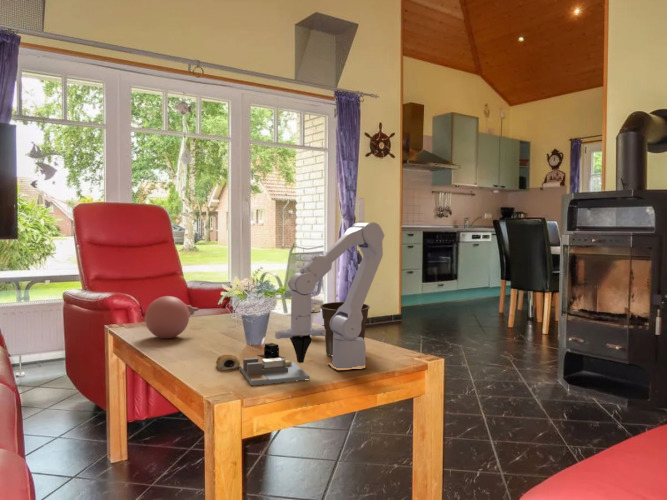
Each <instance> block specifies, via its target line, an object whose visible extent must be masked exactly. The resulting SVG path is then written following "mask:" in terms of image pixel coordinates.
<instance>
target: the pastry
mask: <svg viewBox="0 0 667 500" xmlns="http://www.w3.org/2000/svg"><path fill="white" fill-rule="evenodd" d="M215 364H216V365H217V368H218V370H219V371H227V370H228V369H229V370H237V369H239V368H240V365H241V362H240V360H239V359H238V357H237V355H232V354H222V355H220V356H218V357H217V359H216V361H215ZM229 370H228V371H229Z"/></svg>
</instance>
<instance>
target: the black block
mask: <svg viewBox="0 0 667 500" xmlns="http://www.w3.org/2000/svg"><path fill="white" fill-rule="evenodd" d="M256 356H257V357H260V358H262V359H271V358H285V357H284V356H280V347H279V344H277V343H273V342H268V343H264V347H263V353H261V354H256Z"/></svg>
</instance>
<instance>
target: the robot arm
mask: <svg viewBox="0 0 667 500" xmlns="http://www.w3.org/2000/svg"><path fill="white" fill-rule="evenodd" d="M384 237H385V233H384V231H383V229H382V227H381V226H380V224H378V223H377V222H361V221H358V222H355V223H353V225H352V226H351V227H349V228H347V229H346V231H345V232H344V233H343V235H341V236H340V237H339V239H337V241H335V243H334V244H333V245H332V246H330V247H329V249H328V250H327V251H326V252H325V253H324V254H317V255H313V256H311V258H310V259H311V261H309V262H308V263H307V264H306V265H305V266H304V267H300V268H299V272H295V273H294V274H292V275H291V277H289V278H290V279H289V281H288V282H287V285H288V288H289V290H291V292H290V293H291V294H290V295H291V296H290V297H291V298H290V301H291V302H290V305H291V306H290V328H289V329H283V330H276V331H274V332H275V334H274V335H275V336H274V337H275V339H276V340H281V339H289V340H290V342H291V344H292V346H293V349H294V352H295V355H296V362H297V363H298V364H302V363H303V364H304V361H305V358H306V355H307V351H308V349H309V347H310V345H311V343H312V337H310V336H314V337H325V336H326V329H324V327H322V328H320V327H317V328H315V327H312V328H311V303H312V293H313V291H314V290H315V288H316V284H317V283H318V282H319V281H320V280H322V279H323V277H325V276H326V275H327V273H329V272H330V271H331V270H332V266H333V262H335V261H336V260H338V258H339V257H341V256H342V255H343V254H344V253H346V251H348V250H349V249H350V248H351V247H353V246H357V247H358V248H359V249H360V251H361V253H362V259H361V261H360V263H359V265H358V268H357V271H356V272H355V275H354V277H353V280H352V283H351V285H350V287H349V291H348V293H347V295H346V297H345V300H344V302H345V303H344V304H343V305H342V306H340V307H339V308H338V310H337V312H336V314H335V315H334V316H333V317H332V318H331V320H330V328H331V330H332V331H333V357H332V363H333V364H332V365H333V366H334V367H336V368H352V367H357V366H364V365H365V366H366V350H367V349H366V347H367V346H366V343H365V338H364V339H363V338H362V337H358V336H359V334H360V332H361V322H362V319H363V316H362V312H361V309H362V306H363V304H365V300H366V298H367V296H368V294H369V291H370V290H371V289H370V288H371V287H372V283H373V281H374V279H375V276H376V274H377V271H378V268H379V266H380V264H381V261H382V258H383V254H384V253H383V252H384V251H383V241H384Z"/></svg>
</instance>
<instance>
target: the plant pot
mask: <svg viewBox="0 0 667 500" xmlns="http://www.w3.org/2000/svg"><path fill="white" fill-rule="evenodd" d="M344 303H345V301H335V302H332V301H331V302H326V303H322V304H320V309H321V315H322V319H323V326H324V327H323V328H324V329H326V336H324V339H325V341H324V342H325V353H327V354H330V355H333V331H332V330H331V328H330V320H331V318H332V317H333V316H334V315H335V314H336V312H337V310H338V308H339V307H340V306H342V305H343V304H344ZM370 308H371V307H370V305H369V304H366V303H364V304H363V306H362V309H361V312H362V316H363V319H362V322H361V332H360V334H359V336H358V337H362V338H363V339H364V340H365V337H366V336H365V335H366V326H367V320H368V315H369V309H370ZM327 354H326V355H327Z"/></svg>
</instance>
